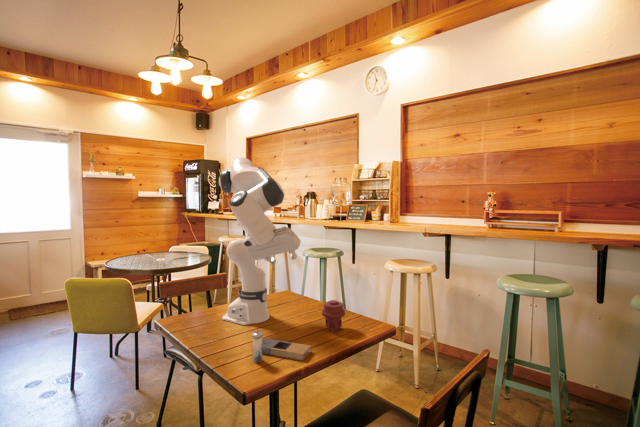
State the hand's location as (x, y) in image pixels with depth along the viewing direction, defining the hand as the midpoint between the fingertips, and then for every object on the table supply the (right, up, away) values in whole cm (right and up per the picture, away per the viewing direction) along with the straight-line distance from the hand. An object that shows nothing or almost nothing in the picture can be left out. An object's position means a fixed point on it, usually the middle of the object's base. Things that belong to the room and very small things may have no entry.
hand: (284, 260), depth 121 cm
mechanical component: (+19, -34, +24) cm, 45 cm away
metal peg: (-9, -35, -4) cm, 36 cm away
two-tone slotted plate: (-1, -34, +2) cm, 34 cm away
